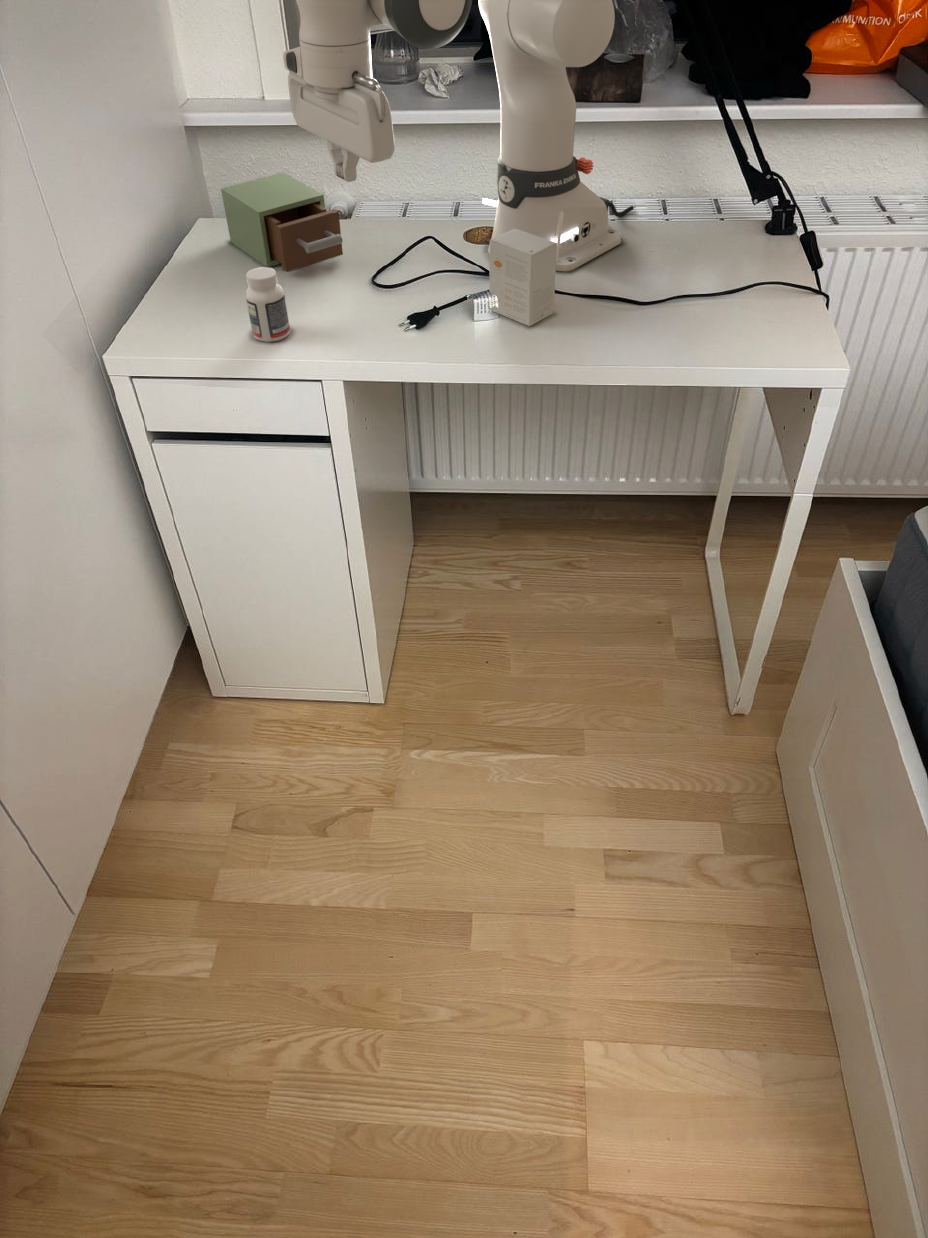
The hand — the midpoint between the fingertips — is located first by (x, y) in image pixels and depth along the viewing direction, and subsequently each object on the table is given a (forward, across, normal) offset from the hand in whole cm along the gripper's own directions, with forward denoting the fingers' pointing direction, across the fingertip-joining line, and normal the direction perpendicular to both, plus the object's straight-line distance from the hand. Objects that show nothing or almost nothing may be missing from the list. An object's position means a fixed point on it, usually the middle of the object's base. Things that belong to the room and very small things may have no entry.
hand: (346, 178), depth 126 cm
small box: (+17, -19, -16) cm, 30 cm away
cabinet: (+17, +24, 0) cm, 29 cm away
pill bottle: (+18, -2, +16) cm, 24 cm away
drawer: (+16, +16, 0) cm, 23 cm away
